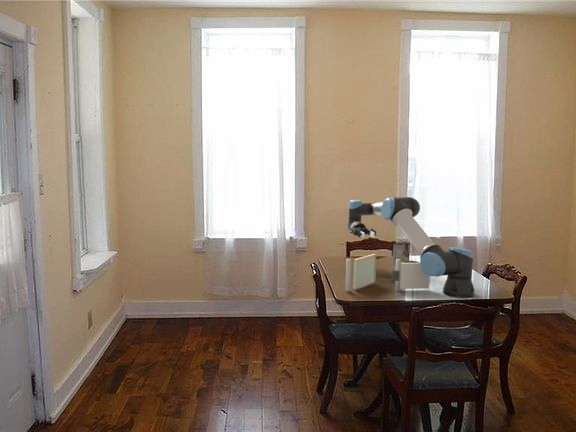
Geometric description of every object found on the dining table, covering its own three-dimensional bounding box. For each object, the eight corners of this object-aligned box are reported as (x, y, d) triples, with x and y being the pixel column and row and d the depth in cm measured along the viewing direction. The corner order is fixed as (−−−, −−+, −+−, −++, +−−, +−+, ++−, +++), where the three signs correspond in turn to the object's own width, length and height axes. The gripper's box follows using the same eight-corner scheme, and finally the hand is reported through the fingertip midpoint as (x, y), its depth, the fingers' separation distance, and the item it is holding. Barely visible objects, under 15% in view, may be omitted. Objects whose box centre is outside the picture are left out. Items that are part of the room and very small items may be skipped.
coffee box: (399, 267, 345) (400, 241, 343) (409, 269, 341) (410, 242, 338) (391, 269, 338) (393, 242, 336) (401, 271, 334) (402, 244, 332)
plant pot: (418, 280, 314) (419, 264, 313) (401, 278, 316) (402, 263, 315) (418, 276, 323) (419, 261, 322) (401, 275, 325) (402, 260, 324)
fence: (429, 291, 291) (431, 260, 289) (346, 292, 285) (347, 260, 283) (427, 289, 294) (428, 258, 292) (344, 290, 289) (345, 259, 287)
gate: (355, 288, 289) (356, 259, 287) (353, 288, 290) (354, 259, 288) (375, 281, 304) (376, 254, 302) (372, 281, 305) (374, 253, 303)
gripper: (373, 235, 335) (384, 242, 312) (343, 235, 333) (352, 242, 310) (373, 222, 334) (385, 228, 311) (343, 222, 332) (352, 228, 309)
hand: (368, 235), depth 311 cm, fingers open, 5 cm apart
